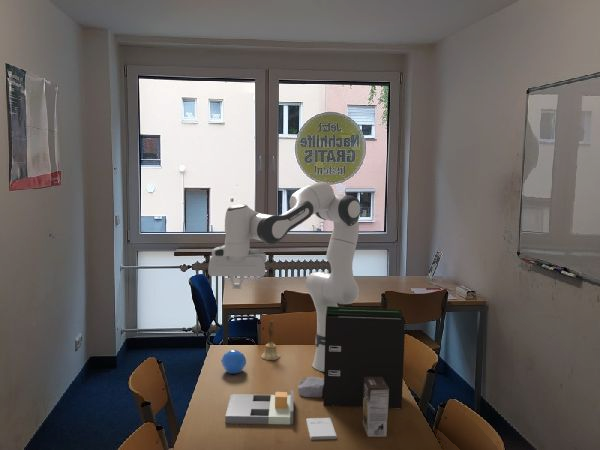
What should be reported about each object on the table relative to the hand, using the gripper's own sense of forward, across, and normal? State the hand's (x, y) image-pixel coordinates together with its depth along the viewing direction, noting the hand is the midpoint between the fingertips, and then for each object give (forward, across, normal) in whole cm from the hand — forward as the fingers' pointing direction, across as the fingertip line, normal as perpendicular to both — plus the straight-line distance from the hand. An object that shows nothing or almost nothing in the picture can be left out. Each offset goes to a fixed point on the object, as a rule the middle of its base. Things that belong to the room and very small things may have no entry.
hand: (236, 288), depth 202 cm
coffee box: (+39, -47, +27) cm, 67 cm away
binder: (+39, -46, +4) cm, 60 cm away
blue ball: (+39, +3, -20) cm, 44 cm away
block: (+37, -17, +16) cm, 43 cm away
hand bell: (+39, -11, -38) cm, 56 cm away
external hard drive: (+40, -30, +27) cm, 57 cm away
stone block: (+40, -28, -3) cm, 48 cm away
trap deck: (+39, -10, +15) cm, 43 cm away
